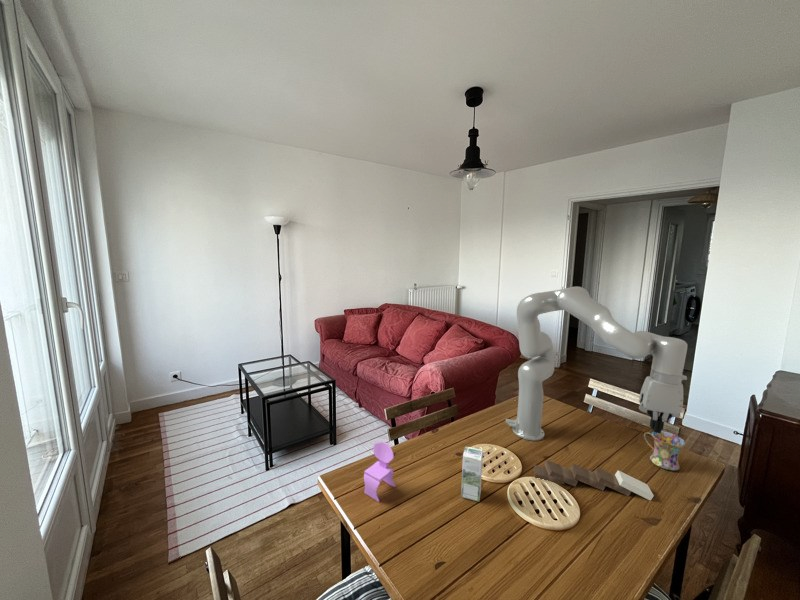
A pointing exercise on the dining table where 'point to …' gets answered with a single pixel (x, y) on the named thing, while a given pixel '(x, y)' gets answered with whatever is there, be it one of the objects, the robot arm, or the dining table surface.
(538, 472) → the tile
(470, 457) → the syrup box
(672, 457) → the mug
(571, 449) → the dining table surface
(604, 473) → the tile
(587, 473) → the tile
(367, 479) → the toy chair
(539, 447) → the dining table surface
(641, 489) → the white end domino
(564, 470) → the tile
